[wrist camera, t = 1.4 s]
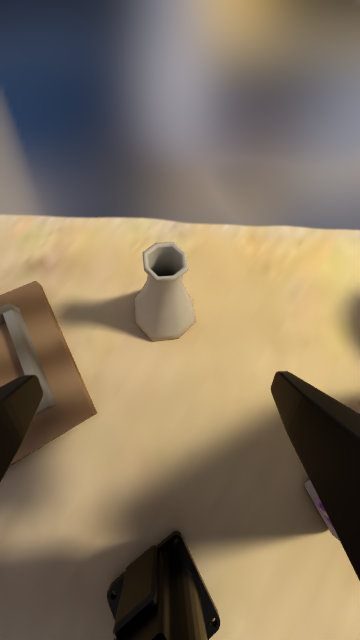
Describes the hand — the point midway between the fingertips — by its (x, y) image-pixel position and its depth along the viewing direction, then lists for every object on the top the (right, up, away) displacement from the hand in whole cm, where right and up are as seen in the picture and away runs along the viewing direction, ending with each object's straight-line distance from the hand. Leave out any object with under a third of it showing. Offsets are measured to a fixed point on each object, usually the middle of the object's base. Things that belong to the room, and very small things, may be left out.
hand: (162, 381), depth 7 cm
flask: (-1, +3, +16) cm, 16 cm away
